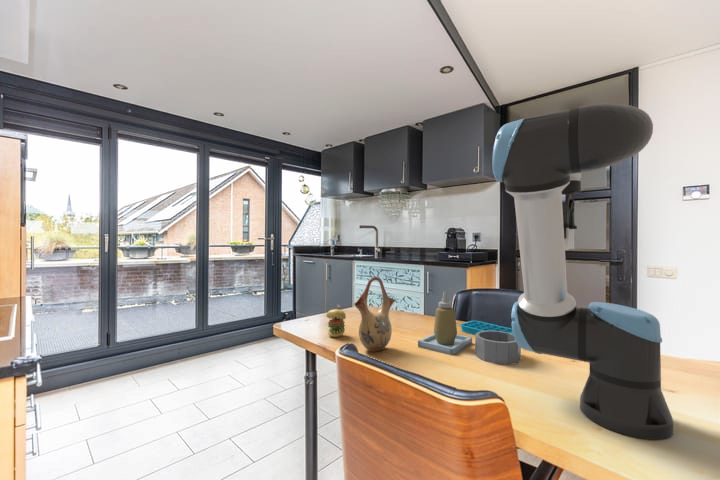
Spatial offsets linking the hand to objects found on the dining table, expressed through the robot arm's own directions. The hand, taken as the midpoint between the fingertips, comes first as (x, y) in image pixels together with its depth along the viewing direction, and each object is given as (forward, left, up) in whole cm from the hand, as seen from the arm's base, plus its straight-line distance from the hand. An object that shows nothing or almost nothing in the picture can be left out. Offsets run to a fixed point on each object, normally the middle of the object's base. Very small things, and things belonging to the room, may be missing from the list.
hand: (566, 249), depth 101 cm
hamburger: (-28, +74, -35) cm, 86 cm away
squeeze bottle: (-11, +35, -34) cm, 50 cm away
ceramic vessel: (-31, +52, -35) cm, 69 cm away
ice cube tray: (+12, +29, -35) cm, 47 cm away
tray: (-11, +36, -34) cm, 51 cm away
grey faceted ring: (-11, +18, -34) cm, 40 cm away
